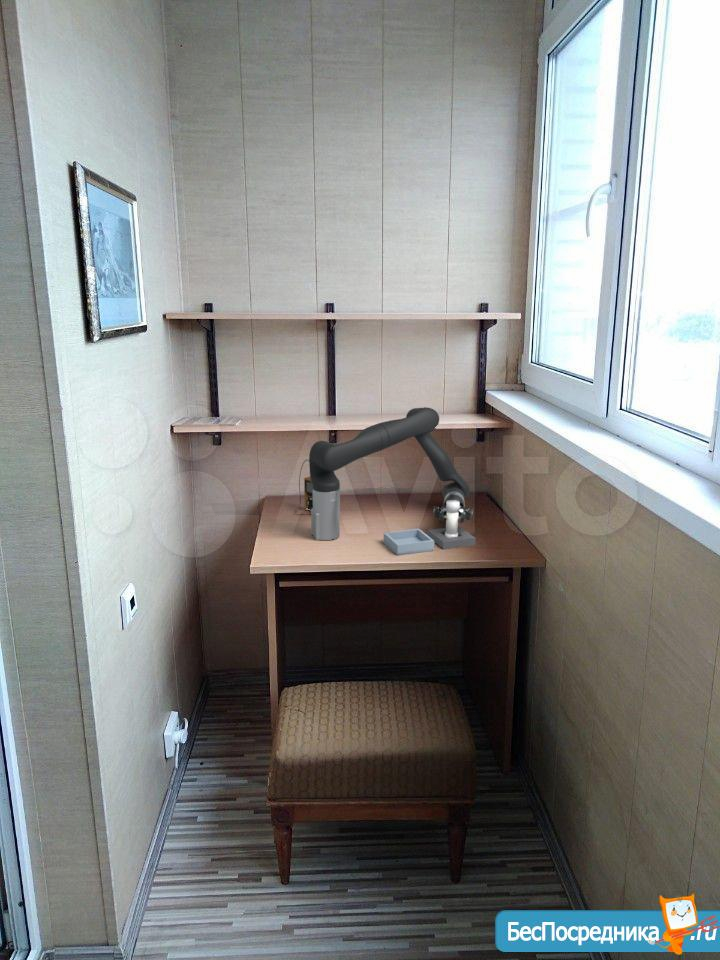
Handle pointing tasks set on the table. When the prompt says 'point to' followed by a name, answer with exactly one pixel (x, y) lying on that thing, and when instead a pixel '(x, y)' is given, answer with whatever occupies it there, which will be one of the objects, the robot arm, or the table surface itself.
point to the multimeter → (307, 491)
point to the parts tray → (408, 541)
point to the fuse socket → (452, 542)
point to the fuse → (452, 518)
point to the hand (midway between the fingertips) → (451, 519)
